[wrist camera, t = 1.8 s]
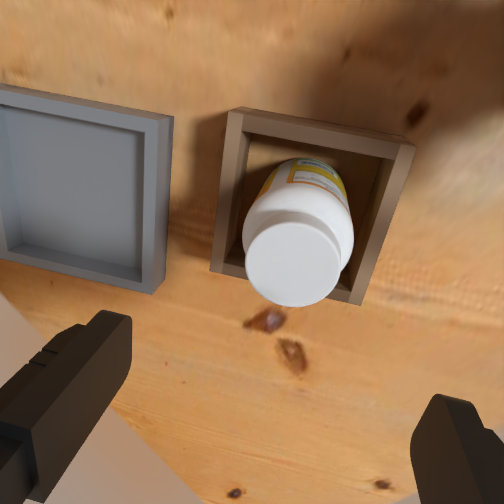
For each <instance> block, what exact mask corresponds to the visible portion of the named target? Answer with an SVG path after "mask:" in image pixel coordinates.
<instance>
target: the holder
mask: <svg viewBox="0 0 504 504" xmlns="http://www.w3.org/2000/svg"><path fill="white" fill-rule="evenodd" d="M251 132H252V133H257V134H262V135H268V136H273V137H278V138H283V139H288V140H293V141H299V142H304V143H309V144H314V145H319V146H325V147H330V148H335V149H340V150H345V151H351V152H356V153H361V154H366V155H371V156H376V157H382V160H381V163H380V166H379V169H378V173H377V176H376V179H375V182H374V185H373V188H372V191H371V195H370V198H369V201H368V204H367V207H366V210H365V213H364V217H363V220H362V223H361V226H360V229H359V232H358V235H357V239H356V242H355V245H354V248H353V251H352V254H351V257H350V261H349V264H348V265H346V266H345V267H344V268H343V270H342V271H341V272H340V276H339V279H338V282H337V284H336V285H335V287H334V289H333V290H332V291H331V292H330V293H329V294H328V295H327V296H326V297H325V298H329V299H333V300H337V301H342V302H346V303H350V304H355V305H359V306H361V304H362V301H363V298H364V295H365V293H366V290H367V287H368V284H369V281H370V279H371V276H372V273H373V270H374V267H375V265H376V262H377V259H378V256H379V253H380V251H381V248H382V245H383V242H384V239H385V237H386V234H387V231H388V228H389V225H390V223H391V220H392V217H393V214H394V211H395V209H396V206H397V203H398V200H399V197H400V195H401V192H402V189H403V186H404V183H405V181H406V178H407V175H408V172H409V169H410V167H411V164H412V161H413V158H414V155H415V153H416V150H417V146H415V145H414V144H413V143H411V142H410V141H409V140H407V139H406V138H405V137H402V136H397V135H391V134H386V133H381V132H375V131H370V130H365V129H359V128H354V127H349V126H343V125H338V124H333V123H327V122H322V121H317V120H311V119H306V118H300V117H295V116H290V115H284V114H279V113H274V112H268V111H263V110H258V109H252V108H247V107H239V108H237V109H234V110H231V111H228V119H227V127H226V136H225V144H224V152H223V161H222V169H221V178H220V186H219V195H218V203H217V211H216V220H215V228H214V237H213V245H212V254H211V262H210V270H209V271H211V272H216V273H220V274H224V275H229V276H233V277H237V278H242V279H246V280H249V279H248V276H247V273H246V269H245V256H246V254H245V251H244V248H243V242H240V241H235V239H236V233H237V226H238V219H239V213H240V206H241V199H242V192H243V186H244V179H245V172H246V166H247V159H248V152H249V146H250V139H251Z"/></svg>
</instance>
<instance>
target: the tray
mask: <svg viewBox="0 0 504 504" xmlns="http://www.w3.org/2000/svg"><path fill="white" fill-rule="evenodd" d="M173 125H174V116H169V115H164V114H159V113H154V112H148V111H143V110H138V109H133V108H128V107H122V106H117V105H112V104H107V103H102V102H97V101H91V100H86V99H81V98H76V97H71V96H65V95H60V94H55V93H50V92H45V91H39V90H34V89H29V88H24V87H19V86H13V85H8V84H3V83H0V259H4V260H8V261H13V262H17V263H21V264H25V265H29V266H33V267H38V268H42V269H46V270H50V271H54V272H58V273H63V274H67V275H71V276H75V277H79V278H83V279H88V280H92V281H96V282H100V283H104V284H109V285H113V286H117V287H121V288H125V289H129V290H134V291H138V292H142V293H146V294H150V295H152V294H153V293H154V292H155V291H156V289H157V288H158V287H159V286H160V284H161V283H162V282H163V281H164V279H165V271H166V253H167V235H168V216H169V198H170V180H171V162H172V143H173Z"/></svg>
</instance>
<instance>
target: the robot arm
mask: <svg viewBox="0 0 504 504" xmlns="http://www.w3.org/2000/svg"><path fill="white" fill-rule="evenodd" d="M131 361H132V319H131V317H130V316H127V315H123V314H119V313H115V312H111V311H107V310H101V311H99V312H98V313H97V314H96V315H95V316H94V317H93V318H92V319H91V320H90V321H89V323H88V324H87V325H86V326H85V325H81V324H76V325H74V326H72V327H70V328H68V329H66V330H64V331H62V332H60V333H58V334H57V335H56V336H55V337H54V338H53V339H51V340H50V341H49V342H48V343H47V344H46V345H45V346H44V347H43V348H42V351H41V352H38V353H37V354H36V355H35V356H34V357H33V358H32V359H31V360H29V363H28V364H25V365H24V366H23V367H22V368H21V369H20V370H19V371H18V372H17V373H16V374H15V375H14V376H13V377H12V378H11V379H10V380H8V381H7V382H6V383H5V384H4V385H3V386H2V387H1V388H0V504H23V502H24V501H25V499H26V498H27V499H30V500H33V501H37V502H40V503H44V502H45V501H46V499H47V498H48V496H49V495H50V493H51V492H52V490H53V489H54V487H55V486H56V484H57V483H58V481H59V480H60V478H61V477H62V475H63V473H64V472H65V470H66V469H67V467H68V466H69V464H70V462H71V461H72V460H73V458H74V457H75V455H76V454H77V452H78V450H79V449H80V447H81V446H82V444H83V443H84V442H85V440H86V438H87V437H88V435H89V434H90V433H91V431H92V430H93V428H94V427H95V425H96V423H97V422H98V421H99V419H100V417H101V416H102V414H103V413H104V411H105V410H106V408H107V407H108V405H109V404H110V402H111V401H112V399H113V398H114V396H115V395H116V393H117V392H118V390H119V389H120V387H121V386H122V384H123V383H124V381H125V379H126V377H127V375H128V372H129V369H130V366H131ZM410 457H411V462H412V467H413V471H414V476H415V480H416V484H417V489H418V493H419V497H420V502H421V504H504V443H503V442H502V441H501V440H500V438H499V437H498V436H497V435H496V434H495V433H494V431H493V430H491V429H487V428H484V426H483V424H482V421H481V419H480V417H479V415H478V413H477V411H476V408H475V407H474V405H473V404H472V403H471V402H469V401H466V400H462V399H458V398H454V397H450V396H446V395H442V394H435V395H434V396H433V397H432V399H431V400H430V402H429V404H428V406H427V408H426V410H425V412H424V413H423V415H422V417H421V419H420V421H419V423H418V425H417V426H416V428H415V430H414V432H413V434H412V438H411V443H410Z"/></svg>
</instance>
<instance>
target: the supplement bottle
mask: <svg viewBox="0 0 504 504" xmlns="http://www.w3.org/2000/svg"><path fill="white" fill-rule="evenodd" d="M242 241H243V248H244V251H245V254H246V256H245V269H246V273H247V276H248V279H249V281H250V283H251V284H252V286H253V287H254V289H255V290H256V291H257V292H258V293H259V294H260V295H261V296H263V297H264V298H266V299H267V300H269V301H271V302H273V303H275V304H278V305H282V306H287V307H302V306H308V305H311V304H314V303H316V302H318V301H320V300H322V299H323V298H325V297H326V296H327V295H328V294H329V293H330V292H331V291H332V290H333V289H334V287H335V285H336V284H337V282H338V279H339V276H340V272H341V271H342V270H343V268H344V267H345V266H346V264H347V262H348V260H349V258H350V256H351V253H352V249H353V244H354V233H353V224H352V220H351V216H350V211H349V206H348V201H347V196H346V191H345V187H344V184H343V182H342V180H341V178H340V176H339V175H338V174H337V173H336V171H335V170H334V169H332V168H331V167H330V166H329V165H327V164H326V163H324V162H322V161H319V160H316V159H312V158H296V159H292V160H289V161H286V162H284V163H282V164H281V165H279V166H278V167H277V168H276V169H275V170H273V172H272V173H271V174H270V175H269V177H268V178H267V179H266V181H265V183H264V185H263V187H262V189H261V190H260V192H259V194H258V196H257V198H256V199H255V201H254V203H253V204H252V206H251V208H250V210H249V212H248V214H247V217H246V219H245V222H244V226H243V231H242Z"/></svg>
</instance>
